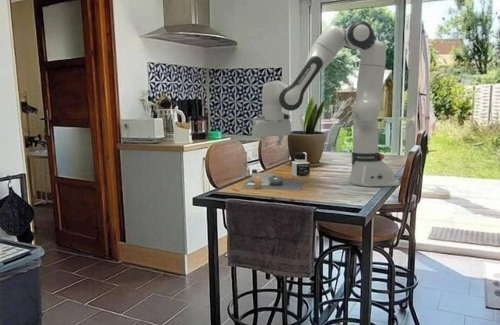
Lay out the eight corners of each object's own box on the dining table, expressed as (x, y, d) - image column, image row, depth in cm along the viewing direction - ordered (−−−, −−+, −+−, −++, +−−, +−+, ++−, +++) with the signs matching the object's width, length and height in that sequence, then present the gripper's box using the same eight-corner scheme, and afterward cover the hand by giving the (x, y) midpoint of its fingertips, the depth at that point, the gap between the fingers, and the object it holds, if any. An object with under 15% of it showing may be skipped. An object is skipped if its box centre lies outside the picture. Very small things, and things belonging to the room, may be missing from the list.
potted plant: (327, 168, 237) (328, 95, 231) (288, 168, 238) (288, 96, 232) (322, 162, 258) (322, 95, 252) (286, 162, 259) (286, 96, 252)
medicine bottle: (296, 177, 213) (296, 153, 211) (291, 175, 220) (291, 151, 218) (309, 176, 215) (310, 152, 213) (304, 174, 221) (304, 151, 220)
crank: (285, 183, 192) (285, 172, 192) (277, 185, 188) (277, 174, 187) (256, 179, 203) (256, 168, 202) (248, 181, 198) (248, 170, 197)
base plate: (303, 182, 200) (303, 169, 199) (302, 192, 181) (302, 178, 180) (248, 181, 204) (248, 169, 203) (241, 191, 185) (241, 177, 184)
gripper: (256, 117, 188) (256, 148, 190) (293, 115, 199) (293, 145, 201) (248, 116, 193) (249, 147, 196) (285, 115, 204) (285, 143, 206)
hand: (271, 146), depth 198 cm, fingers open, 7 cm apart
